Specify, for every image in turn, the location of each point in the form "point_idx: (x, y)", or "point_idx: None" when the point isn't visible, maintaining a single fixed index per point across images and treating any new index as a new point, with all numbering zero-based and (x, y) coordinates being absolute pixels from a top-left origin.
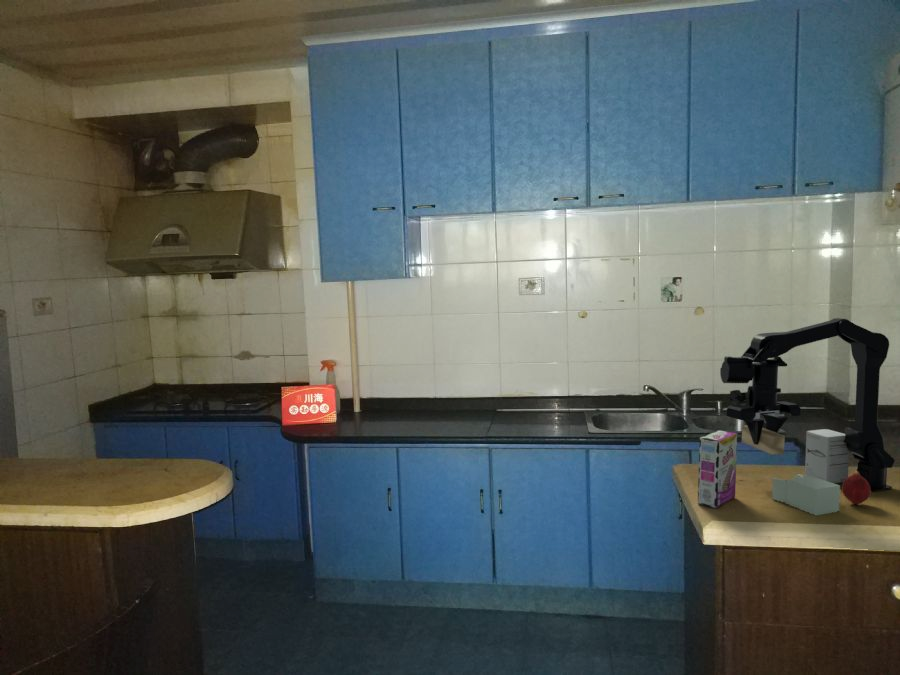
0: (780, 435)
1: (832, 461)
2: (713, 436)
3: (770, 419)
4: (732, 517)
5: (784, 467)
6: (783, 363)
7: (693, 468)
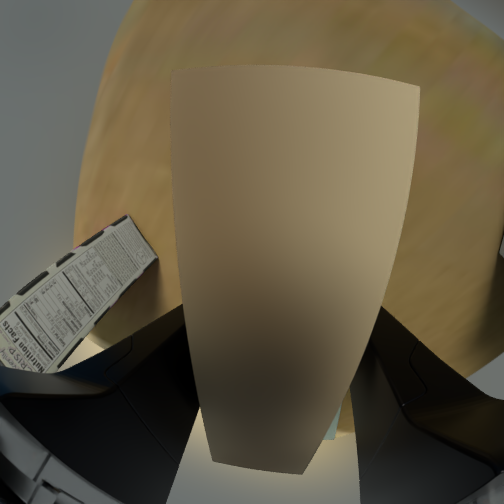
0: (280, 469)
1: None
2: None
3: (391, 491)
4: (114, 336)
5: None
6: None
7: None
